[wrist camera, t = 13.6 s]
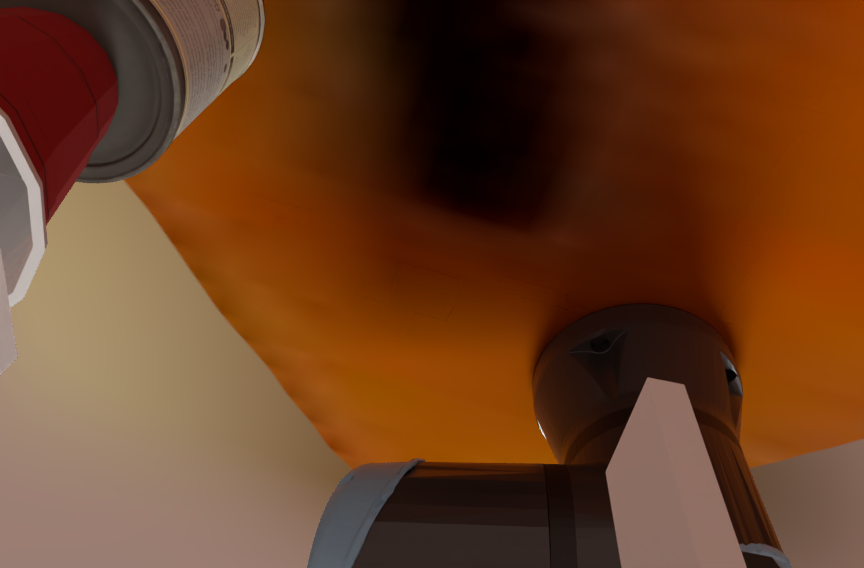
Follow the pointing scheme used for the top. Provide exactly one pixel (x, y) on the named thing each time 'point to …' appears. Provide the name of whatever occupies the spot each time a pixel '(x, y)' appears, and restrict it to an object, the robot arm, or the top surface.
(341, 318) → the top surface
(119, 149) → the coffee can
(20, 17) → the plastic cup
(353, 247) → the top surface
